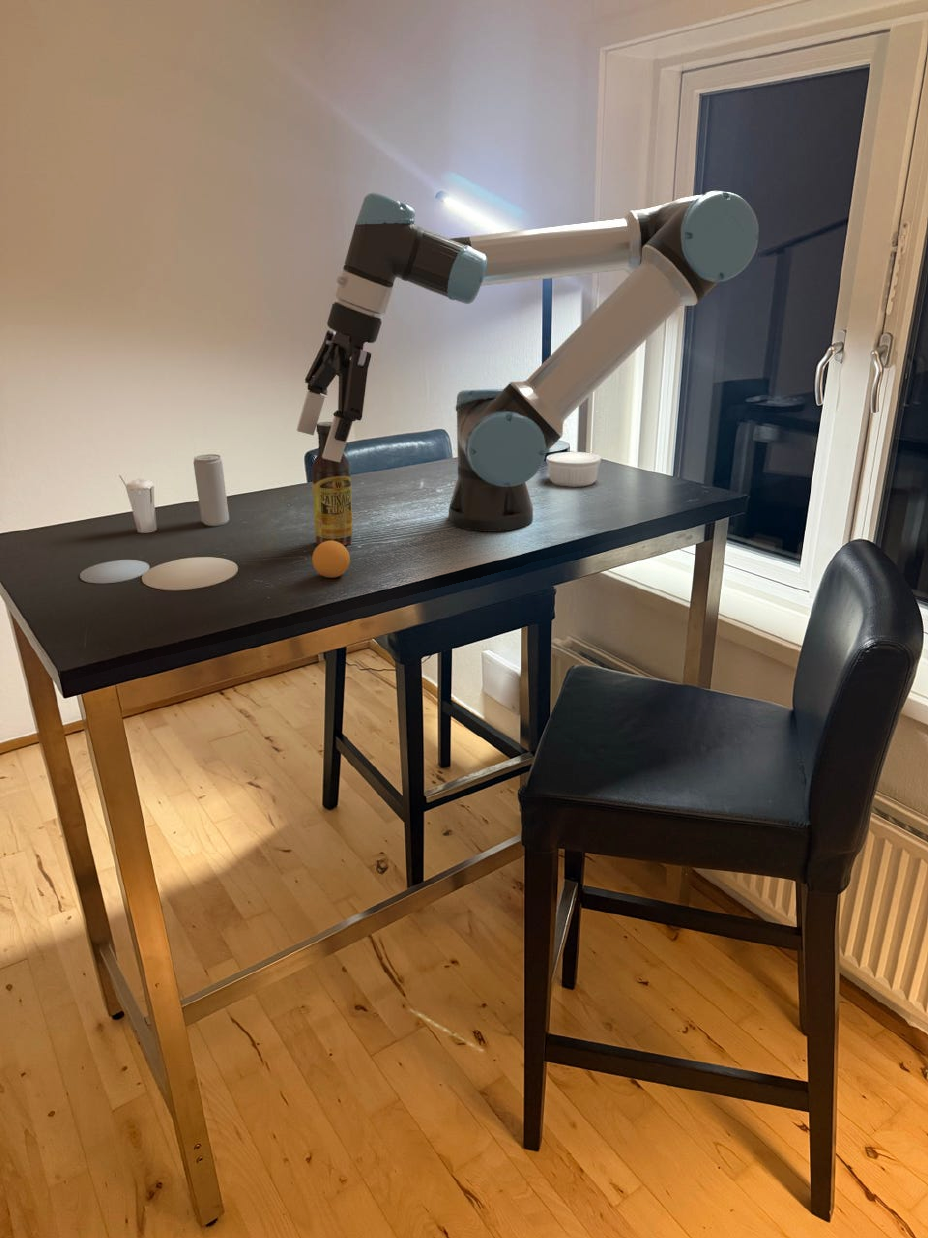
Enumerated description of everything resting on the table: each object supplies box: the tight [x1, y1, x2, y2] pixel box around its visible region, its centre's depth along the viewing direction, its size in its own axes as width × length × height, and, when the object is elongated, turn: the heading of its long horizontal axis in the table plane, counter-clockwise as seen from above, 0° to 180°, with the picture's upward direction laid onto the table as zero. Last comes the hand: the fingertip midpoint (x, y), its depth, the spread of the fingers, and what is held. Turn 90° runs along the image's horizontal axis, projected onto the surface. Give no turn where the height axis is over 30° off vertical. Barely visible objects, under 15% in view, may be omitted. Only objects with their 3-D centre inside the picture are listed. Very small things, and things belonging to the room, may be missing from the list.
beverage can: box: [193, 453, 230, 527], centre depth 152 cm, size 5×5×12 cm
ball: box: [312, 541, 351, 579], centre depth 127 cm, size 6×6×6 cm
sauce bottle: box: [312, 421, 354, 547], centre depth 139 cm, size 6×6×20 cm
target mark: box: [141, 556, 239, 591], centre depth 130 cm, size 14×14×1 cm
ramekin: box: [545, 451, 602, 488], centre depth 178 cm, size 11×11×5 cm
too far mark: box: [79, 559, 151, 585], centre depth 131 cm, size 10×10×1 cm
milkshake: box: [119, 475, 157, 534], centre depth 149 cm, size 4×5×10 cm
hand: (317, 445), depth 132 cm, fingers open, 13 cm apart
